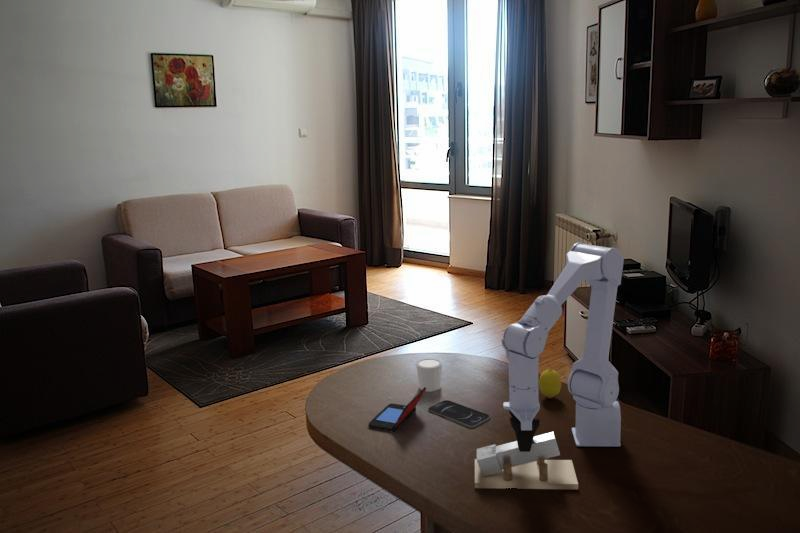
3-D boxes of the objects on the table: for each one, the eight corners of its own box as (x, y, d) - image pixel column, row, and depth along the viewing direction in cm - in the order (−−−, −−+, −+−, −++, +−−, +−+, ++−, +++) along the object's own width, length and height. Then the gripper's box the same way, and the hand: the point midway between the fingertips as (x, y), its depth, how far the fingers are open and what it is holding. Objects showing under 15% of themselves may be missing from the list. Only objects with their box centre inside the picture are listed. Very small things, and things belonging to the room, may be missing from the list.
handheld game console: (389, 406, 172) (388, 379, 171) (428, 413, 168) (427, 385, 166) (366, 428, 162) (364, 400, 160) (407, 436, 157) (405, 406, 155)
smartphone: (446, 399, 174) (492, 415, 163) (446, 402, 174) (492, 419, 163) (425, 409, 169) (471, 426, 158) (426, 412, 169) (471, 430, 158)
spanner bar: (557, 445, 137) (552, 429, 137) (560, 457, 133) (555, 440, 132) (482, 464, 140) (476, 448, 140) (482, 476, 136) (476, 460, 135)
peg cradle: (571, 465, 141) (571, 446, 140) (578, 489, 132) (578, 469, 131) (474, 464, 143) (474, 445, 142) (474, 488, 134) (474, 468, 133)
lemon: (564, 395, 173) (564, 366, 171) (556, 404, 168) (556, 374, 166) (543, 391, 176) (543, 363, 174) (535, 400, 171) (535, 370, 169)
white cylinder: (443, 392, 179) (442, 367, 177) (417, 393, 179) (416, 368, 177) (442, 381, 186) (441, 357, 184) (417, 382, 186) (415, 358, 184)
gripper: (501, 369, 140) (502, 429, 143) (504, 399, 126) (505, 465, 129) (536, 369, 139) (536, 429, 142) (543, 399, 125) (543, 465, 128)
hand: (524, 446), depth 136 cm, fingers closed on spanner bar, 3 cm apart
